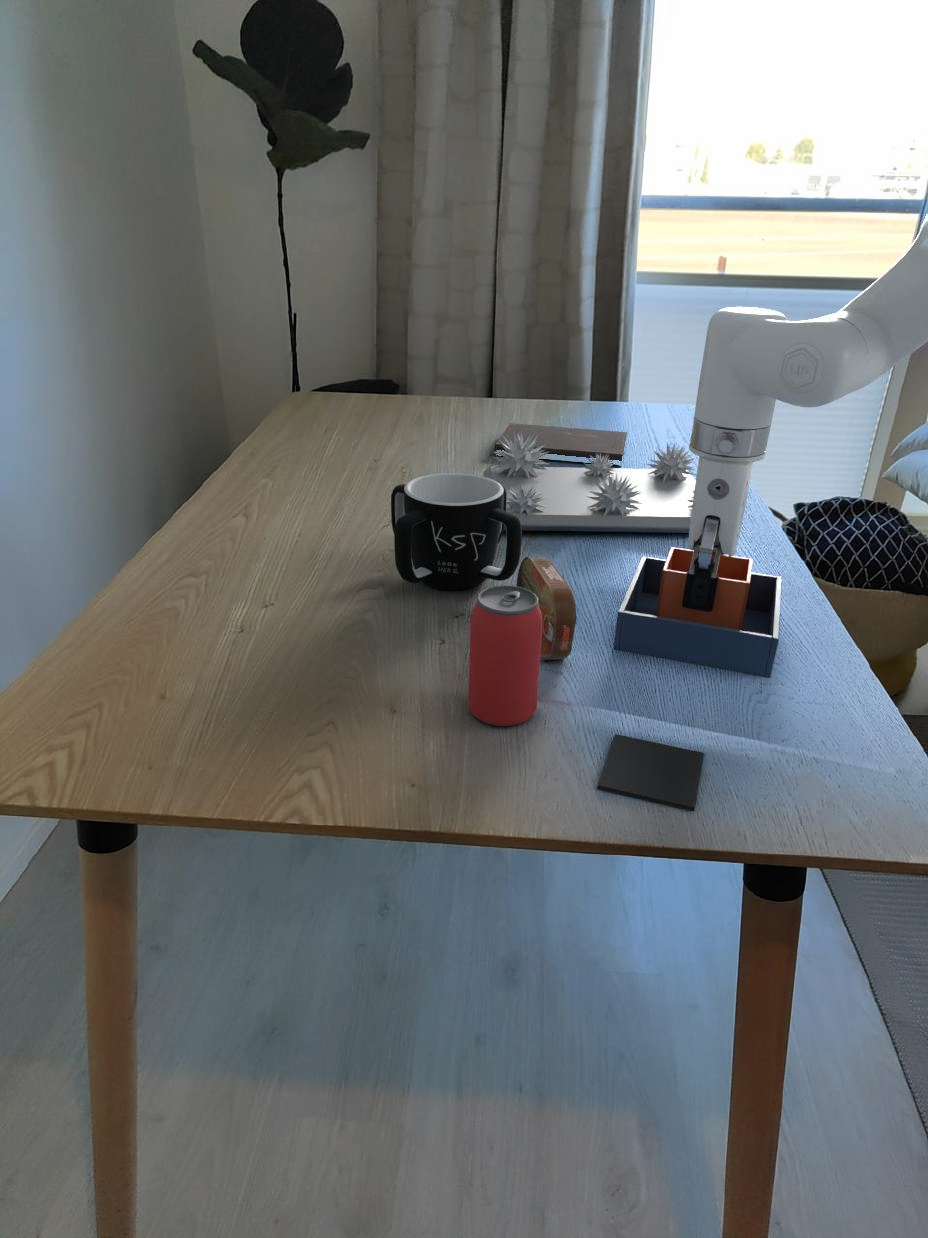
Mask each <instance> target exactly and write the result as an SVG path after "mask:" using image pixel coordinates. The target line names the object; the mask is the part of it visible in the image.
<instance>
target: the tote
mask: <svg viewBox="0 0 928 1238" xmlns="http://www.w3.org/2000/svg"><path fill="white" fill-rule="evenodd" d="M666 559H667V558H666ZM666 559H665V558H659V557H652V556H646V555H645V556H644V555H641V558H640V560H639V563H638V565H637V566H636V568H635V572H634V574H633V576H632V579H631V580H630V583H629V585H628V588H627V590H626V592H625V594H624V597H623V599H622V601H621V604H620V606H619V608H618V611H617V614H616V615H617V616H616V624H615V631H614V632H615V633H614V641H613V650H614V651H619V652H620V651H621V652H624V653H625V652H626V653H630V654H636V655H643V656H648V657H653V658H657V659H658V658H659V659H662V660H663V659H664V660H670V661H675V662H681V663H687V664H692V665H697V666H702V667H708V668H713V669H719V670H724V671H730V672H735V673H741V674H745V675H752V676H757V677H763V678H769V679H771V678H772V673H773V667H774V664H775V660H776V655H777V648H778V645H779V640H780V626H781V625H780V623H781V606H782V589H783V588H782V587H783V576H779V575H774V574H773V575H772V574H765V573H759V572H753V571H752V573H751V580H750V586H749V591H748V597H747V602H746V607H745V612H744V617H743V623H742V628H741V630H736V629H730V628H724V627H718V626H713V625H707V624H701V623H695V622H689V621H683V620H677V619H671V618H665V617H659V616H656V613H657V606H658V599H659V592H660V585H661V577H662V570H663V568H664V565H665V562H666Z"/></svg>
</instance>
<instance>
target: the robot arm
mask: <svg viewBox="0 0 928 1238" xmlns="http://www.w3.org/2000/svg"><path fill="white" fill-rule="evenodd" d="M704 343H705V344H704V350H703V356H702V362H701V368H700V373H699V374H700V375H699V382H698V388H697V393H696V401H695V407H694V413H693V419H692V424H691V430H690V431H691V432H690V439H689V445H688V451H689V452H690V453H691V454H692V455H693V454H694V455H695V456H697V457H698V463H697V469H696V475H695V479H696V481H695V488H694V495H693V502H692V510H691V519H690V530H689V533H688V541H687V542H688V543H687V546H688V548H689V550H692V551H693V550H694V551H693V556H692V561H691V566H690V571H687V576H686V582H685V588H684V594H683V600H682V606H683V607H684V608H689V609H695V610H701V611H706V612H711V611H712V610H713V606H714V600H715V595H716V590H717V585H718V579H719V576H717V571H718V566H719V561H720V556H721V554H723V555H729V557H731V556H735V555H736V553H737V549H738V544H739V540H740V534H741V530H742V526H743V525H742V524H743V521H744V520H743V519H744V515H745V510H746V506H747V499H748V495H749V491H750V490H749V489H750V484H751V478H752V471H753V463H756V462H759V461H761V460H764V458H765V456H766V452H767V446H768V442H769V438H770V431H771V427H772V421H773V417H774V412H775V406H776V402H777V401H780V402H782V403H785V404H788V405H791V406H795V407H800V408H818V407H822V406H825V405H829V404H830V403H832V402H834V401H835V402H836V401H837V400H839V399H841V398H844V397H846V396H847V395H850V394H852V393H854V392H856V391H859V390H861V389H864V388H865V387H867V386H869V385H870V384H871V383H873V382H874V381H877V380H878V379H879V378H880V377H882V376H883V375H884V374H886V373H887V372H888V371H890V370H892V369H893V368H894V367H896V366H897V365H898V364H899V363H901V362H902V361H903V360H905V359H906V358H908V357H909V356H910V355H912V354H913V353H914V352H916V351H917V350H919V348H921V347H922V346H923V345H925V344H927V343H928V214H926V216H925V218H924V220H923V223H922V225H921V227H920V230H919V232H918V234H917V236H916V238H915V240H914V241H913V242H912V244H911V245H910V246H909V248H908V249H907V251H906V252H905V253H904V254H902V256H901V257H900V258H899V259H898V260H897V261H896V262H895V263H894V264H893V265H892V266H891V267H890V268H889V269H888V270H886V272H884V274H882V275H881V276H880V277H879V278H877V279H876V280H875V281H874V282H872V284H870V285H869V286H867V287H866V289H865V290H863V291H862V292H861V293H860V294H858V296H856V297H855V298H854V299H852V300H851V301H850V302H849V303H847V304H846V305H845V306H844V307H842V308H841V309H840V310H839V311H837V312H836V313H832V314H828V315H824V316H820V317H818V318H812V319H808V320H788V318H787V317H786V315H785V314H783V313H782V312H779V311H776V310H771V309H766V308H759V307H750V306H749V307H747V306H744V307H743V306H736V307H725V308H722V309H719V310H718V311H716V312H715V313H714V314H712V315H711V318H710V319H709V321H708V326H707V330H706V336H705V342H704ZM698 554H699V557H698ZM712 556H715V559H711V558H712ZM713 560H714V561H713ZM712 568H713V569H712Z"/></svg>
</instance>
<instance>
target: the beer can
mask: <svg viewBox="0 0 928 1238" xmlns="http://www.w3.org/2000/svg"><path fill="white" fill-rule="evenodd" d="M469 624H470V627H469V630H470V631H469V657H468V658H469V660H468V663H469V664H468V693H467V706H468V710H469V711H470V713H471V715H473V716H474V717H475V718H476V719H477V720H479V721H481V722H483V723H485V724H487V725H490V726H491V725H492V726H496V727H511V726H518V725H520V724H523V723H526V722H527V721H528V720H529V719H531V718H532V717H533V716H534V714H535V713H536V711H537V707H538V696H539V695H538V692H539V678H540V666H541V665H540V664H541V654H540V653H541V639H542V626H543V623H542V615H541V611H540V608H539V605H538V597H537V596H536V595H535V594H534V593H533V592H531V591H530V590H528V589H525V588H522V587H517V585H510V584H509V585H507V584H505V585H504V584H502V585H494V586H489V587H486V588H485V589H482V590H481V591H480V592H479V593H478V594H477V595H476V602H475V604H474V606H473V608H472V613H471V615H470V623H469Z"/></svg>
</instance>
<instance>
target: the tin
mask: <svg viewBox="0 0 928 1238" xmlns="http://www.w3.org/2000/svg"><path fill="white" fill-rule="evenodd" d="M516 586H517V587H522V588H525V589H528V590H530V591H531V592H533V593H534V594H535V595H536V596H537V597H538V605H539V608H540V611H541V615H542V623H543V626H542V639H541V653H540V661H542V662H544V661H547V660H550V661H551V660H555V661H556V660H565V659H566V658H568V657H569V656H570V654H571V653H572V650H573V649H572V648H573V642H574V636H575V628H576V625H577V607H576V600H575V596H574V593H573V591H572V588H571V587H570V586H569V584H568V582H567V581H566V579H564V577H563V576H562V574H561V573H560V571H559V570H558V568H557V567H556V566H555V564H554V563H553V561H552V560H551V559H549V558H547V557H530V556H525V557H523V559H522V560H521V562H520V565H519V567H518V572H517V578H516Z"/></svg>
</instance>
